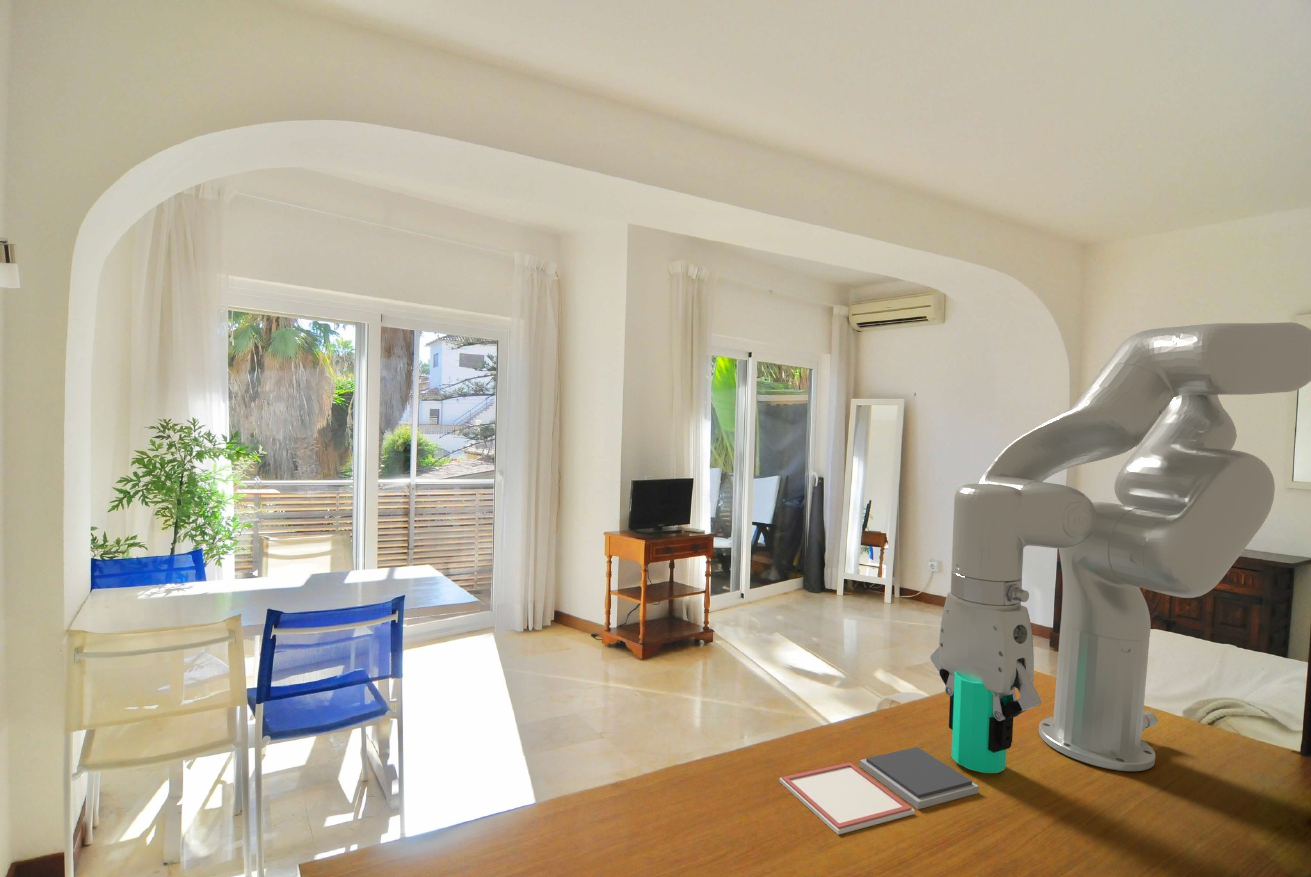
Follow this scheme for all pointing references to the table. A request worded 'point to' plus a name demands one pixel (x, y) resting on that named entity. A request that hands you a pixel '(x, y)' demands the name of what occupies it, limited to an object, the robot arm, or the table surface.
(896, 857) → the table surface
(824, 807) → the marked card
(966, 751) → the candle
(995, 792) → the table surface
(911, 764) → the ink pad
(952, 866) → the table surface
